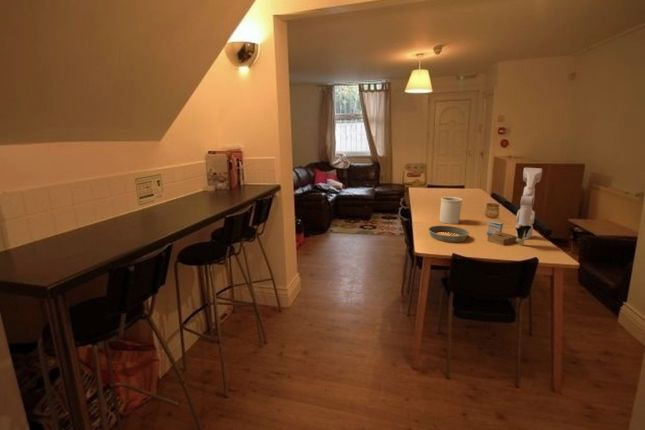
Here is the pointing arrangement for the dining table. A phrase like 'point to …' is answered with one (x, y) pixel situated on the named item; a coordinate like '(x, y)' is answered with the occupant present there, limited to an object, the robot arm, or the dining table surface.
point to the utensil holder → (450, 210)
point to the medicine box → (494, 227)
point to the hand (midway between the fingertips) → (521, 237)
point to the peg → (521, 241)
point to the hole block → (502, 238)
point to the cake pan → (450, 229)
